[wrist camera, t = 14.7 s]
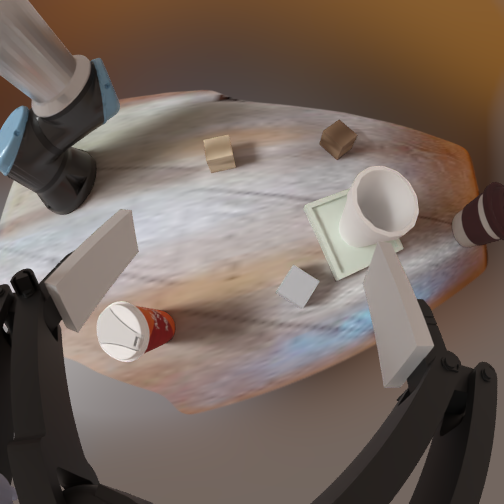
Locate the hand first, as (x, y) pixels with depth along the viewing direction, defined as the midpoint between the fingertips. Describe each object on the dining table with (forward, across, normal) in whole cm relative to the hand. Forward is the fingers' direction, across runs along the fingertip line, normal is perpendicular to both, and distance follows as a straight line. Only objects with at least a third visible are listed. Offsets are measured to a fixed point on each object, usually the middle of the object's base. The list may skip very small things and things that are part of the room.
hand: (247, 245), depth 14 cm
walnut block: (+41, +10, -1) cm, 42 cm away
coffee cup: (+32, +39, -10) cm, 52 cm away
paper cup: (+15, -16, -28) cm, 35 cm away
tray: (+29, +14, -13) cm, 35 cm away
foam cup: (+28, +14, -12) cm, 34 cm away
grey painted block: (+22, +5, -21) cm, 30 cm away
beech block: (+36, -10, -6) cm, 38 cm away
